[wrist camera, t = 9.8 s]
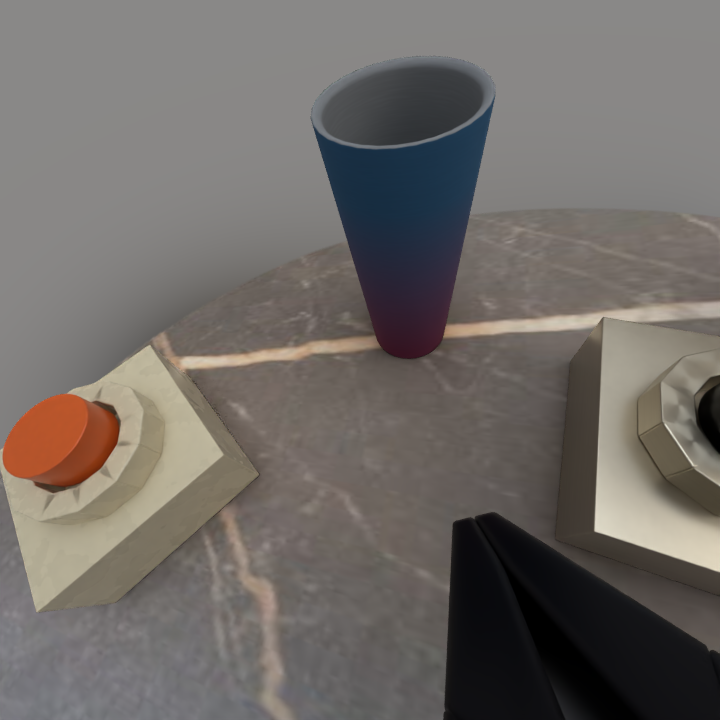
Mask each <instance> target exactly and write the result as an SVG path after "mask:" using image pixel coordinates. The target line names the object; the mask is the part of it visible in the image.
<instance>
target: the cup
mask: <svg viewBox="0 0 720 720" xmlns="http://www.w3.org/2000/svg"><path fill="white" fill-rule="evenodd" d="M494 99H495V84H494V82H493V80H492V78H491V76H490V75H489V74H488V73H487V72H486V71H485V70H484V69H482V68H480V67H479V66H477V65H475V64H473V63H470V62H467V61H464V60H461V59H455V58H450V57H441V56H415V57H405V58H398V59H393V60H387V61H383V62H380V63H376V64H372V65H369V66H366V67H364V68H361V69H358V70H356V71H354V72H352V73H350V74H348V75H346V76H344V77H342V78H340V79H339V80H337V81H336V82H334V83H332V84H331V85H330V86H329V87H328V88H327V89H325V90H324V91H323V92H322V93H321V94H320V96H319V97H318V98H317V99H316V101H315V103H314V105H313V107H312V111H311V121H312V124H313V128H314V131H315V134H316V138H317V141H318V144H319V148H320V151H321V154H322V158H323V161H324V164H325V168H326V171H327V174H328V178H329V181H330V184H331V188H332V191H333V194H334V198H335V201H336V204H337V207H338V211H339V214H340V218H341V221H342V224H343V228H344V231H345V234H346V238H347V241H348V244H349V248H350V251H351V254H352V258H353V261H354V264H355V268H356V271H357V274H358V278H359V281H360V284H361V288H362V291H363V294H364V298H365V301H366V304H367V308H368V311H369V314H370V318H371V321H372V324H373V328H374V331H375V334H376V338H377V341H378V342H379V344H380V346H381V347H382V348H383V349H384V350H385V351H387V352H388V353H389V354H391V355H394V356H396V357H400V358H408V359H410V358H418V357H422V356H424V355H426V354H429V353H430V352H432V351H433V350H434V349H435V348H436V347H437V346H438V345H439V344H440V342H441V340H442V338H443V335H444V330H445V326H446V321H447V317H448V312H449V307H450V303H451V298H452V293H453V289H454V284H455V280H456V275H457V270H458V266H459V261H460V256H461V252H462V247H463V243H464V238H465V233H466V229H467V224H468V219H469V215H470V210H471V205H472V201H473V196H474V192H475V187H476V182H477V178H478V173H479V168H480V163H481V159H482V155H483V150H484V145H485V140H486V136H487V131H488V127H489V122H490V117H491V113H492V108H493V103H494Z"/></svg>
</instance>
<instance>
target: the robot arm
mask: <svg viewBox="0 0 720 720" xmlns="http://www.w3.org/2000/svg"><path fill="white" fill-rule="evenodd" d="M445 710H446V711H445V712H444V720H720V654H719V653H718V652H716V651H714V650H711V651H708V648H707V646H706V645H705V644H703V643H702V642H700V641H698V640H697V639H695V638H694V637H692V636H691V635H689V634H687V633H686V632H684V631H683V630H681V629H679V628H678V627H676V626H675V625H673V624H672V623H670V622H668V621H667V620H665V619H664V618H662V617H660V616H659V615H657V614H656V613H654V612H652V611H651V610H649V609H648V608H646V607H645V606H643V605H641V604H640V603H638V602H637V601H635V600H633V599H632V598H630V597H629V596H627V595H626V594H624V593H622V592H621V591H619V590H618V589H616V588H614V587H613V586H611V585H610V584H608V583H607V582H605V581H603V580H602V579H600V578H599V577H597V576H595V575H594V574H592V573H591V572H589V571H588V570H586V569H584V568H583V567H581V566H580V565H578V564H576V563H575V562H573V561H572V560H570V559H569V558H567V557H565V556H564V555H562V554H561V553H559V552H557V551H556V550H554V549H553V548H551V547H550V546H548V545H546V544H545V543H543V542H542V541H540V540H538V539H537V538H535V537H534V536H532V535H530V534H529V533H527V532H526V531H524V530H523V529H521V528H519V527H518V526H516V525H515V524H513V523H511V522H510V521H508V520H507V519H505V518H504V517H502V516H500V515H499V514H497V513H495V512H490V513H486V514H482V515H478V516H476V517H475V519H473V518H471V517H470V518H465V519H461V520H457V521H455V522H454V523H453V531H452V553H451V574H450V596H449V618H448V640H447V662H446V684H445Z"/></svg>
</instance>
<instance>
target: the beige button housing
mask: <svg viewBox="0 0 720 720" xmlns="http://www.w3.org/2000/svg"><path fill="white" fill-rule="evenodd" d="M67 394H73V395H77V396H79V397H81V398H83V399H85V400H87V401H89V402H91V403H93V404H95V405H97V406H99V407H101V408H103V409H105V410H107V411H109V412H111V413H112V414H113V415H114V416H115V417H116V419H117V421H118V423H119V437H118V442H117V445H116V447H115V448H114V450H113V451H112V453H111V454H110V456H109V457H108V459H107V460H106V462H105V464H104V465H103V467H102V468H101V469H100V470H98V471H97V472H96V473H94V474H93V475H92V476H90V477H89V478H88V479H87V480H85V481H83V482H81V483H79V484H76V485H72V486H67V487H59V486H54V485H49V484H45V483H40V482H36V481H31V480H26V479H22V478H18V477H14V476H13V475H11V474H10V473H9V472H7V470H6V469H5V467H4V465H3V460H2V454H3V448H4V447H3V448H2V449H1V450H0V470H1V474H2V477H3V481H4V485H5V489H6V493H7V497H8V501H9V505H10V509H11V513H12V517H13V521H14V525H15V529H16V533H17V537H18V541H19V545H20V549H21V553H22V557H23V561H24V565H25V569H26V573H27V577H28V581H29V585H30V589H31V593H32V597H33V601H34V605H35V609H36V612H37V613H38V612H47V611H55V610H63V609H71V608H79V607H87V606H95V605H103V604H111V603H116V602H117V601H118V600H119V599H120V598H122V597H123V596H124V595H125V594H126V593H127V592H128V591H129V590H131V589H132V588H133V587H134V586H135V585H136V584H137V583H138V582H140V581H141V580H142V579H143V578H144V577H145V576H146V575H147V574H149V573H150V572H151V571H152V570H153V569H154V568H155V567H156V566H158V565H159V564H160V563H161V562H162V561H163V560H164V559H165V558H167V557H168V556H169V555H170V554H171V553H172V552H173V551H174V550H176V549H177V548H178V547H179V546H180V545H181V544H182V543H183V542H185V541H186V540H187V539H188V538H189V537H190V536H191V535H192V534H194V533H195V532H196V531H197V530H198V529H199V528H200V527H201V526H203V525H204V524H205V523H206V522H207V521H208V520H209V519H210V518H212V517H213V516H214V515H215V514H216V513H217V512H218V511H219V510H221V509H222V508H223V507H224V506H225V505H226V504H227V503H228V502H230V501H231V500H232V499H233V498H234V497H235V496H236V495H237V494H239V493H240V492H241V491H242V490H243V489H244V488H245V487H246V486H248V485H249V484H250V483H251V482H252V481H253V480H254V479H255V478H257V477H258V476H259V473H258V472H257V470H256V469H255V468H254V466H253V465H252V463H251V462H250V461H249V459H248V458H247V457H246V455H245V454H244V452H243V451H242V450H241V448H240V447H239V445H238V444H237V443H236V441H235V440H234V438H233V437H232V436H231V434H230V433H229V431H228V430H227V429H226V427H225V426H224V424H223V423H222V422H221V420H220V419H219V417H218V416H217V415H216V413H215V412H214V410H213V409H212V408H211V406H210V405H209V403H208V402H207V401H206V399H205V398H204V396H203V395H202V394H201V392H200V391H199V389H198V388H197V387H196V385H195V384H194V382H193V381H192V380H191V378H190V377H189V376H187V375H186V374H185V373H184V372H182V371H181V370H180V369H179V368H178V367H176V366H175V365H174V364H173V363H171V362H170V361H169V360H168V359H166V358H165V357H164V356H163V355H162V354H160V353H159V352H158V351H157V350H155V349H154V348H153V347H152V346H151V345H148V346H147V347H145V348H144V349H143V350H141V351H140V352H138V353H137V354H136V355H134V356H133V357H131V358H130V359H128V360H127V361H126V362H124V363H123V364H121V365H120V366H118V367H117V368H116V369H114V370H113V371H111V372H110V373H109V374H107V375H106V376H104V377H103V378H101V379H100V380H99V381H97V382H96V383H93V384H90V385H86V386H82V387H78V388H75V389H73V390H71V391H70V392H68V393H67Z"/></svg>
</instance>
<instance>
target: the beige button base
mask: <svg viewBox="0 0 720 720" xmlns="http://www.w3.org/2000/svg"><path fill="white" fill-rule="evenodd" d="M719 383H720V336H714V335H708V334H702V333H696V332H690V331H684V330H678V329H672V328H666V327H660V326H654V325H648V324H642V323H636V322H629V321H623V320H617V319H611V318H605V317H603V318H602V319H601V321H600V322H599V323H598V325H597V326H596V327H595V329H594V330H593V331H592V333H591V334H590V336H589V337H588V338H587V340H586V341H585V342H584V344H583V345H582V346H581V348H580V349H579V350H578V352H577V353H576V355H575V356H574V357H573V359H572V360H571V364H570V375H569V387H568V398H567V409H566V421H565V432H564V443H563V455H562V466H561V477H560V489H559V500H558V511H557V522H556V534H555V539H556V540H558V541H561V542H564V543H567V544H570V545H573V546H576V547H578V548H581V549H584V550H587V551H590V552H593V553H596V554H599V555H602V556H605V557H608V558H610V559H613V560H616V561H619V562H622V563H625V564H628V565H631V566H634V567H637V568H640V569H642V570H645V571H648V572H651V573H654V574H657V575H660V576H663V577H666V578H669V579H672V580H674V581H677V582H680V583H683V584H686V585H689V586H692V587H695V588H698V589H701V590H704V591H707V592H709V593H712V594H715V595H718V596H720V452H719V451H718V450H717V449H716V448H715V447H714V446H713V444H712V443H711V442H710V441H709V439H708V438H707V436H706V435H705V433H704V431H703V429H702V427H701V425H700V422H699V417H698V406H699V402H700V400H701V398H702V396H703V395H704V394H705V393H706V392H707V391H708V390H709V389H711V388H712V387H714V386H716V385H717V384H719Z"/></svg>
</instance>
